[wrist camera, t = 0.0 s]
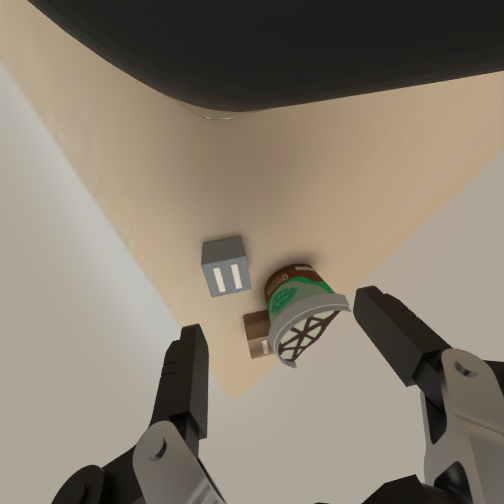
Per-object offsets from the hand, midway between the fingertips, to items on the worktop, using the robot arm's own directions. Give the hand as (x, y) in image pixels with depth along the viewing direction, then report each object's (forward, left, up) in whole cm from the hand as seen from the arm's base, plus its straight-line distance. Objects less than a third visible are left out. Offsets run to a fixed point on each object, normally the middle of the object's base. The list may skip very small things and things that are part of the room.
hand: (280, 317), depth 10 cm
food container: (+14, +4, -17) cm, 23 cm away
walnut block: (+22, 0, -17) cm, 28 cm away
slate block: (+7, -3, -17) cm, 19 cm away
